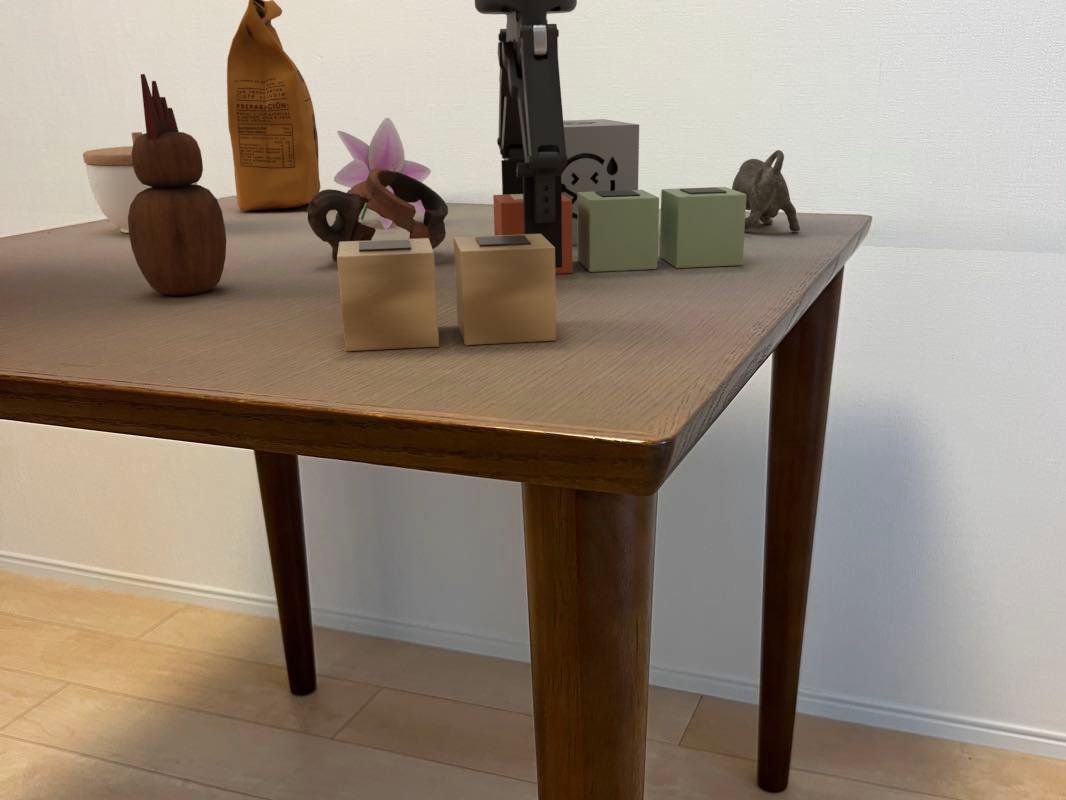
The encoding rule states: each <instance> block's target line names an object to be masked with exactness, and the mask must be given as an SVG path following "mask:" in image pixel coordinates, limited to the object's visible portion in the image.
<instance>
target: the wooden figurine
mask: <svg viewBox="0 0 1066 800" xmlns="http://www.w3.org/2000/svg"><path fill="white" fill-rule="evenodd" d="M140 83H141V94H142V103H143V113H144V123H145V132H144V133H142V135H140V136H139V137H137V138H136V140H135V142H134V143H133V142H132V146H133V148H132V164H133V168H134V172H135V174H136V176H137V178H138V180H139V181H140V182H141V183H142V184H144V185H147V186H151V188H147V189H145V190H143V191H141V192H140V193H138V194H137V195H136V197H135V198H134V200H133V201H132V203H131V205H130V209H129V214H128V228H129V233H128V235H129V236H128V237H129V241H130V247H131V250H132V253H133V256H134V259H135V261H136V265H137V266H138V268H139V270H140V272H141V273H142V276H143V277H144V279H145V280H146V282H147V283H148V285H149V286H150V288H152V289H153V290H155V291H156V292H158V293H159V294H164V295H168V296H177V297H178V296H181V297H182V296H191V295H198V294H202V293H206V292H208V291H209V290H211V289H213V288H215V287H216V286H218V284H219V283H220V281H221V278H222V275H223V272H224V268H225V262H226V255H227V233H226V224H225V220H224V215H223V210H222V208H221V206H220V203H219V200H218V199H217V197H216V196H215V195H214V194H213V193H212V192H211V190H210V189H208V188H206V187H204V186H202V185H200V184H198V185H193V183H195V182H198V183H199V181H200V180H201V178H202V176H203V172H204V165H203V164H204V163H203V157H202V151H201V148H200V146H199V143H198V141H197V140H196V139H195V138H194V137H193V136H192V135H191V134H190V133H186V132H183V131H180V130H179V127H178V124H177V120H176V117H175V113H174V109H173V107H168V103H167V99H166V96H160V92H159V87H158V84H157V80H152V81H151V90H150V86H149V83H148V80H147V76H146V74H145V73H140Z"/></svg>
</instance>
